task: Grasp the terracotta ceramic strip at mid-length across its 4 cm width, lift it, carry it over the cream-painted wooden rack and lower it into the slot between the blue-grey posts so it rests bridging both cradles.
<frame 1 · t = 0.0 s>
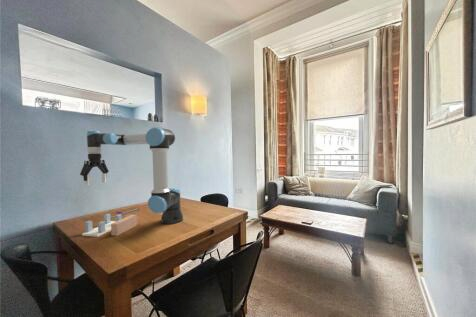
hand: (95, 184, 139), 28 cm above the table, fingers open, 13 cm apart
squeegee: (119, 214, 163), on the table
rack: (104, 229, 130), on the table
strip: (125, 229, 129), on the table
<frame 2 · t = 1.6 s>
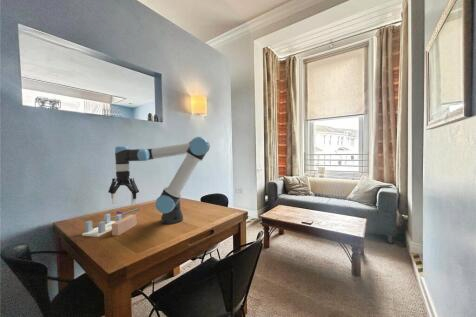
hand: (124, 203, 128), 17 cm above the table, fingers open, 13 cm apart
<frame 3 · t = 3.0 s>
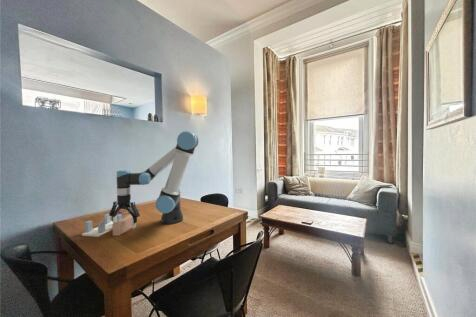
hand: (124, 227, 129), 2 cm above the table, fingers open, 13 cm apart
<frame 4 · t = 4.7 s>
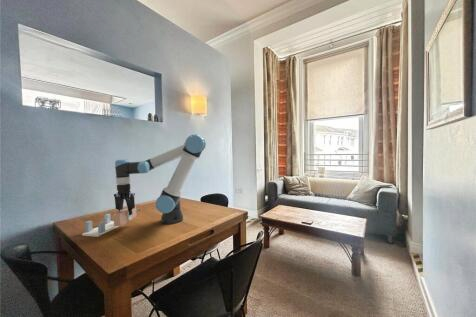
hand: (126, 219, 129), 6 cm above the table, fingers closed on strip, 4 cm apart
strip: (126, 220, 128), point 6 cm above the table, touching gripper
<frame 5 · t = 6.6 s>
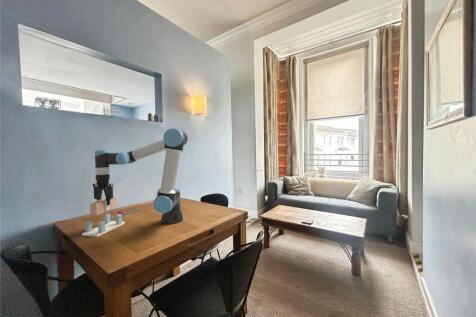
hand: (104, 209, 130), 13 cm above the table, fingers closed on strip, 4 cm apart
strip: (103, 210, 130), point 12 cm above the table, touching gripper
when the fingers open (2 cm above the table, at t = 8.6 s): strip stays where it is, resting on rack.
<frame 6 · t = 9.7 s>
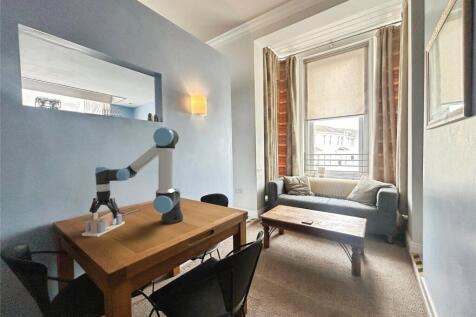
hand: (104, 223, 130), 4 cm above the table, fingers open, 13 cm apart
strip: (104, 227, 130), point 1 cm above the table, touching rack
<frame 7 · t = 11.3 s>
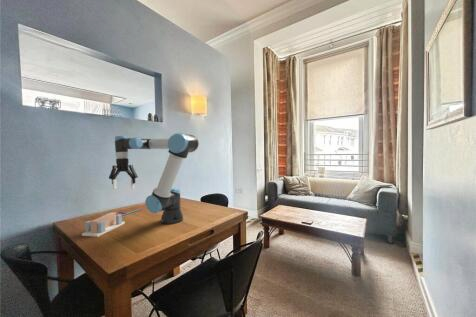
hand: (124, 188, 140), 24 cm above the table, fingers open, 13 cm apart
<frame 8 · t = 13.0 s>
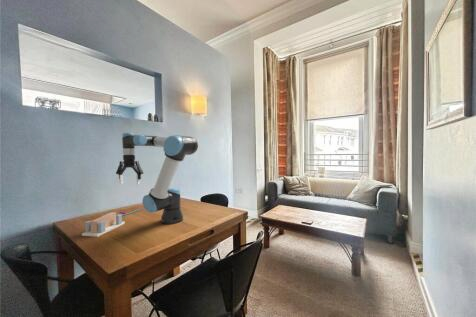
hand: (130, 183, 145), 27 cm above the table, fingers open, 13 cm apart
at the end: strip inside the target area on the rack (0.1 cm from its centre), point 1.2 cm above the rack's base; strip touching rack; the gripper is holding nothing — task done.
